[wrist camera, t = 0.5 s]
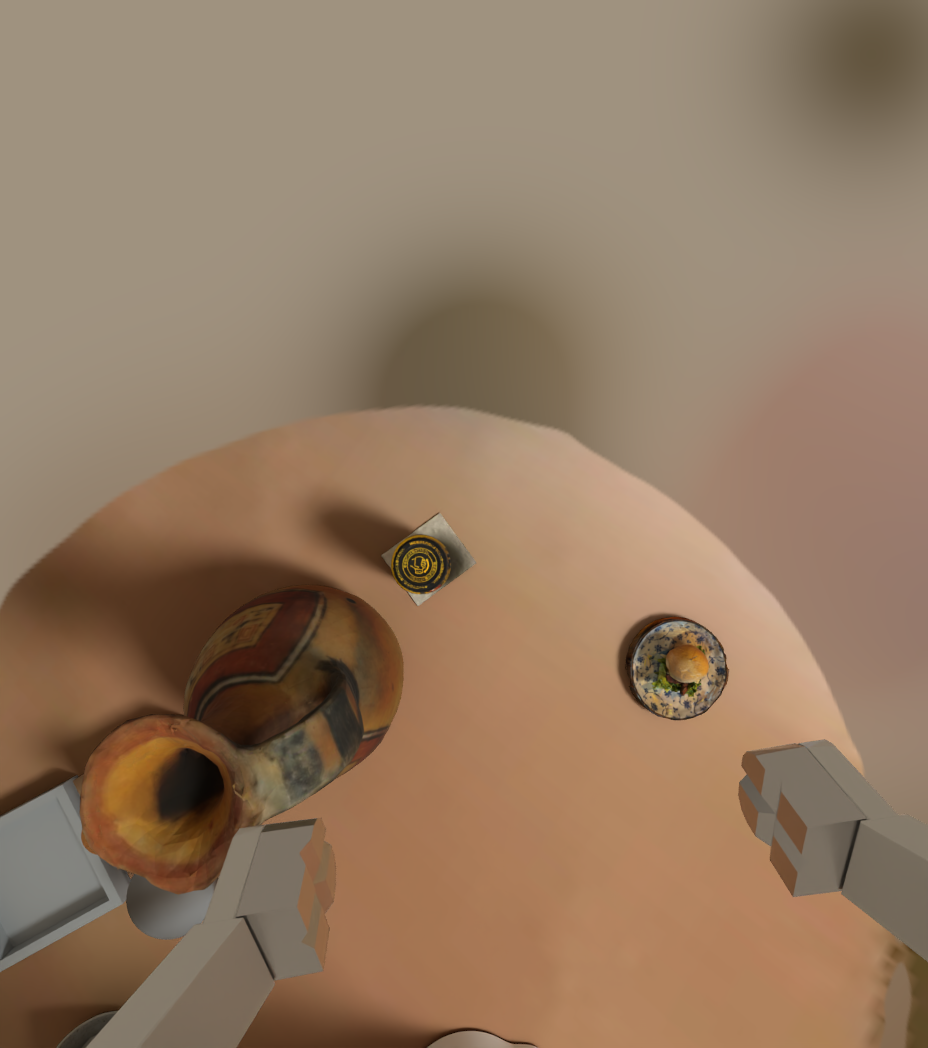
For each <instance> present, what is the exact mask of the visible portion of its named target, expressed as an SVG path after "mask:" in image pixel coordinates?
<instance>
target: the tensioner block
mask: <svg viewBox="0 0 928 1048" xmlns="http://www.w3.org/2000/svg"><path fill="white" fill-rule="evenodd" d="M83 776H84V774H83V775H81V776H80V777H78V778H76V779H75V780H73V783H74V785H75V787H76V789H77V791H78V793H79V795H81V788H82V781H83ZM117 869H119V868H117ZM218 879H219V878H217V879H216V880H215V881H214V882H213V883H212V884H211V885H210V886H209V887H207V888H206V889H205V890H197V891H191V892H188V893H184V894H179V895H178V894H175V893H172V892H169V891H165V890H162V889H160V888H158V887H156V886H154V885H152V884H151V883H150V882H149V881H148V880H147V879H146V878H144V877H142V876H139V875H137V874H134V875H133V877H132V879H131V881H130V883H129V886H128V890H127V896H126V903H127V909H128V913H129V915H130V918H131V919H132V921H133V923H134V924H135V925H136V927H137V928H138V929H140V930H141V931H142V932H143V933H145V934H147V935H149V936H151V937H154V938H157V939H166V940H167V939H175V938H179V937H182V936H184V935H186V934H187V933H188V932H189V930H190V929H191V928H192V927H193V926H194V925H197V924H201V923H202V921H203V920H204V918H205V916H206V913H207V910H208V907H209V904H210V901H211V899H212V896H213V893H214V890H215V887H216V884H217V881H218Z"/></svg>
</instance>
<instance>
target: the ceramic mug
mask: <svg viewBox="0 0 928 1048" xmlns="http://www.w3.org/2000/svg"><path fill="white" fill-rule="evenodd" d="M117 1012H118V1011H111V1012H106V1013H103V1014H100V1015H97V1016H95V1017H93V1018H91V1019H89V1020H87V1021H85V1022H83V1023H82V1024H80V1025H79V1026H78V1027H76V1028H75V1029H74V1030H72V1031H71V1032H70V1033H69V1034H68V1035H67V1036H66V1037H65V1038H64V1039H63V1040H62V1041H61V1042H60V1043H59V1044H58V1046H57V1047H56V1048H86V1047H87V1046H88V1045H89V1043H90V1042H91V1041H92V1040H93V1039H94V1038H95V1037H96V1036H97V1034H98V1033H99V1032H100V1031H101V1030H102V1029H103V1028H104V1026H105V1025H106V1024H107V1023H108V1022H109V1021H110V1020H111V1019H112V1017H113V1016H114V1015H115V1014H116V1013H117Z"/></svg>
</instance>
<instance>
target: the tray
mask: <svg viewBox="0 0 928 1048" xmlns="http://www.w3.org/2000/svg"><path fill="white" fill-rule="evenodd" d="M76 778H78V775H76V776H74V777H72V778H71V779H69V780H67V781H65V782H63V783H61V784H59V785H57V786H56V787H54V788H52V789H50V790H48V791H46V792H44V793H42V794H40V795H39V796H37V797H35V798H33V799H31V800H29V801H27V802H25V803H24V804H22V805H20V806H18V807H16V808H14V809H12V810H10V811H8V812H7V813H5V814H3V815H1V816H0V972H1V971H3V970H5V969H6V968H8V967H10V966H12V965H14V964H15V963H17V962H19V961H21V960H23V959H24V958H26V957H28V956H30V955H32V954H33V953H35V952H37V951H39V950H41V949H42V948H44V947H46V946H48V945H50V944H51V943H53V942H55V941H57V940H59V939H60V938H62V937H64V936H66V935H68V934H69V933H71V932H73V931H75V930H77V929H78V928H80V927H82V926H84V925H85V924H87V923H89V922H91V921H93V920H94V919H96V918H98V917H100V916H102V915H103V914H105V913H107V912H109V911H111V910H112V909H114V908H116V907H118V906H120V905H121V904H123V903H124V902H125V901H126V896H127V890H128V886H129V883H130V881H131V880H130V878H129V876H128V874H127V872H126V871H125V870H122V869H117V867H114V866H112V865H110V864H109V863H107V862H106V861H105V860H103V859H102V858H100V857H99V856H98V855H95V854H92V853H91V852H89V851H88V850H87V849H86V848H85V847H84V845H83V843H82V840H81V832H82V824H81V819H80V813H79V812H80V795H79V793H78V791H77V789H76V787H75V785H74V783H73V780H75V779H76Z"/></svg>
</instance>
